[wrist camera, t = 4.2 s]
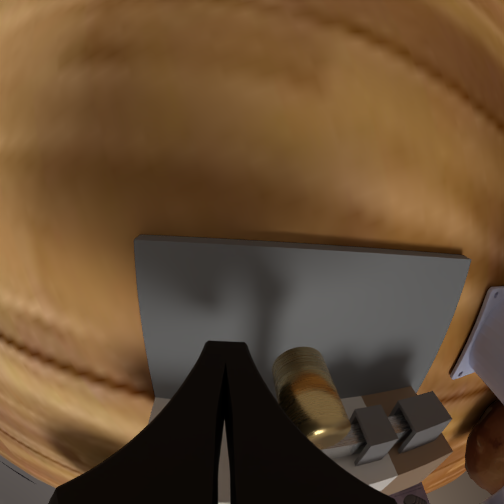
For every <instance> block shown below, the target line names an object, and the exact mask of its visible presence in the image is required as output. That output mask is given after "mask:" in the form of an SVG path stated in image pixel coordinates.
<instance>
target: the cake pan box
mask: <svg viewBox="0 0 504 504" xmlns="http://www.w3.org/2000/svg"><path fill="white" fill-rule="evenodd" d="M388 496H390V497H392V498H394V499H395V500H396V502H397V504H430V503H429V500H428V498H427V495H426V493H425V490H424V488H423V485H422V483H421V482H420V483H418V484H416V485H414V486H411V487H409V488H407V489H404V490H402V491H399V492H396V493H394V494H391V495H388Z"/></svg>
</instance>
